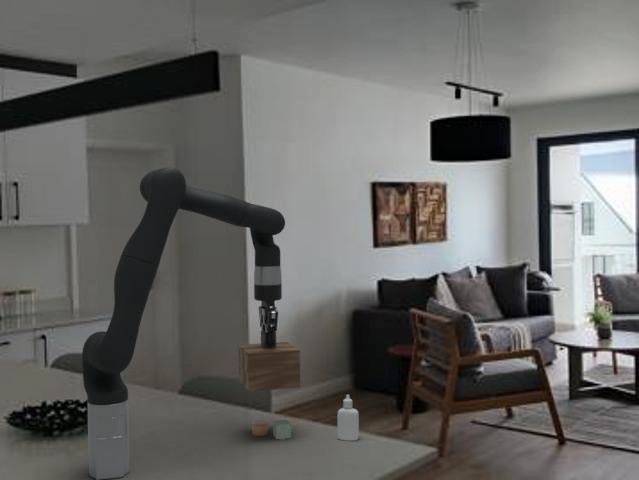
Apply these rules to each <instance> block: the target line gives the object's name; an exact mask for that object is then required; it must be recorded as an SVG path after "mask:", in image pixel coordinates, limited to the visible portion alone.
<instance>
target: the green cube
mask: <svg viewBox="0 0 639 480" xmlns="http://www.w3.org/2000/svg"><path fill="white" fill-rule="evenodd" d="M272 436H273V437H274V439H275V438H276V439H282V440H286V439H285V438H291V439H292V423H290V422H289V421H288V420H287V419H286V420H285V419H284V420H275V421H272ZM276 439H275V440H276Z"/></svg>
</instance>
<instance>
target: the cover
mask: <svg viewBox="0 0 639 480" xmlns="http://www.w3.org/2000/svg"><path fill="white" fill-rule="evenodd" d="M238 381H239V382H240V383H241V385H243V387H244V388H245V389H246V390H247V392H259V391H262V392H263V391H274V390H285V389H287V390H288V389H297V388H301V350H300V349H298V348H297V347H296V346H294V345H292V344H291V343H289V342H288V341H281V342H280V341H279V342H277V331H275V333H274V346H273V347H267V346H266V332H265V330H260V343H247V344H245V343H244V344H238Z"/></svg>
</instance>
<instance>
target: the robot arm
mask: <svg viewBox="0 0 639 480" xmlns="http://www.w3.org/2000/svg"><path fill="white" fill-rule="evenodd" d="M139 191H140V195H141V197H142V199H144V200H145V201H146V202H147V205H146V207H145V211H144V213H143V216H142V218H141V220H140V222H139V223H138V225H137V227H136V228H135V229H134V231H133V233H132V234H131V236H130V237H129V239H128V241H127V242H126V244H125V246H124V248H123V250H122V252H121V253H120V258H119V260H118V263H117V266H116V270H115V274H114V279H113V280H114V282H113V292H114V305H113V306H114V308H113V312H112V314H111V315H112V316H111V318H110V322H109V324H108V326H107V330H106V331H96V332H93V333H92V334H91V335H89V336H88V337H87V338H86V340H85V342H84V344H83V348H82V352H81V354H82V355H81V360H82V361H81V363H82V378H83V379H82V381H83V388H84V391H85V393H86V397H87V436H88V437H87V445H88V447H87V448H88V475H89V477H91V478H94V479H95V480H108V479H118V478H123V477H124V476H125V475H126V474H128V473H129V472H130V437H129V436H130V434H129V433H130V432H129V430H130V429H129V425H130V424H129V390H128V387H127V385H126V384H125V382H124V381H123V379H122V376H121V373H122V372H124V371H125V370H126V369H127V368H128V367H129V365H130V364H131V361H132V359H133V356H134V353H135V350H136V349H135V348H136V344H137V339H138V336H139V329H140V326H141V321H142V319H143V315H144V312H145V308H146V305H147V303H148V301H149V300H148V299H149V296H150V292H151V289H152V288H153V284H154V281H155V279H156V276H157V272H158V269H159V266H160V262H161V259H162V256H163V252H164V250H165V248H166V247H165V246H166V243H167V240H168V236H169V234H170V231H171V227H172V225H173V222H174V220H175V218H176V215H177V213H178V210H183V211H187V212H192V213H196V214H198V215H201V216H202V215H203V216H205V217H209V218H211V219H214V220H217V221H220V222H223V223H225V224H229V225H232V226H236V227H239V228H240V227H241V228H247V229H248V228H249V232H250V237H251V241H252V245H253V249H254V270H253V271H254V272H253V293H254V294H253V295H254V296H253V297H254V298H253V299H254V300H255V301H257V302H261V304H260V306H258V317H259V327H260V328H261V331H263V330H265V332H266V346H267V347H273V346H274V333H275V331H276V332H277V331H278V321H279V310H278V309H277V306H276V304H275V302H277V301H281V300H282V298H283V296H282V295H283V293H282V288H283V287H282V284H283V283H282V281H283V280H282V278H283V277H282V268H281V249H280V245H277V244H276V243H275V239H274V236H276V235H278V234H280V233H282V232H283V230H284V229H285V226H286V219H285V217H284V215H283V214H282V213H281V212H280V211H279V210H277V209H275V208H271V207H268V206H263V205H259V204H255V203H254V204H253V203H250V202H248V201H245V200H243V199H240V198H238V197H235V196H232V195H228V194H224V193H219V192H215V191H209V190H205V189H204V190H203V189H199V188H196V187H193V186H192V187H191V186H189V185H187V180H186V178H185V176H184V174H183V173H182V171H180V170H179V169H177V168H175V167H161V168H158V169H154V170H151V171H149V172H147V174H145V175H144V176H143V177H142V179H141V180H140V183H139Z"/></svg>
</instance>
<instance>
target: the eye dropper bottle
mask: <svg viewBox="0 0 639 480" xmlns="http://www.w3.org/2000/svg"><path fill="white" fill-rule="evenodd" d="M342 400H343V404H342V405H343V406H342V408H340V409H338V411H337V419H336V420H337V424H336V425H337V439H338V440H341V441H346V442H347V441H349V442H352V441H353V442H354V441H358V439H359V438H360V422H359V421H360V419H359V415H360V414H359V411H358V410H357V409H356V408H353V399H351V397H350V394H346V395H345V398H344V399H342Z"/></svg>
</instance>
